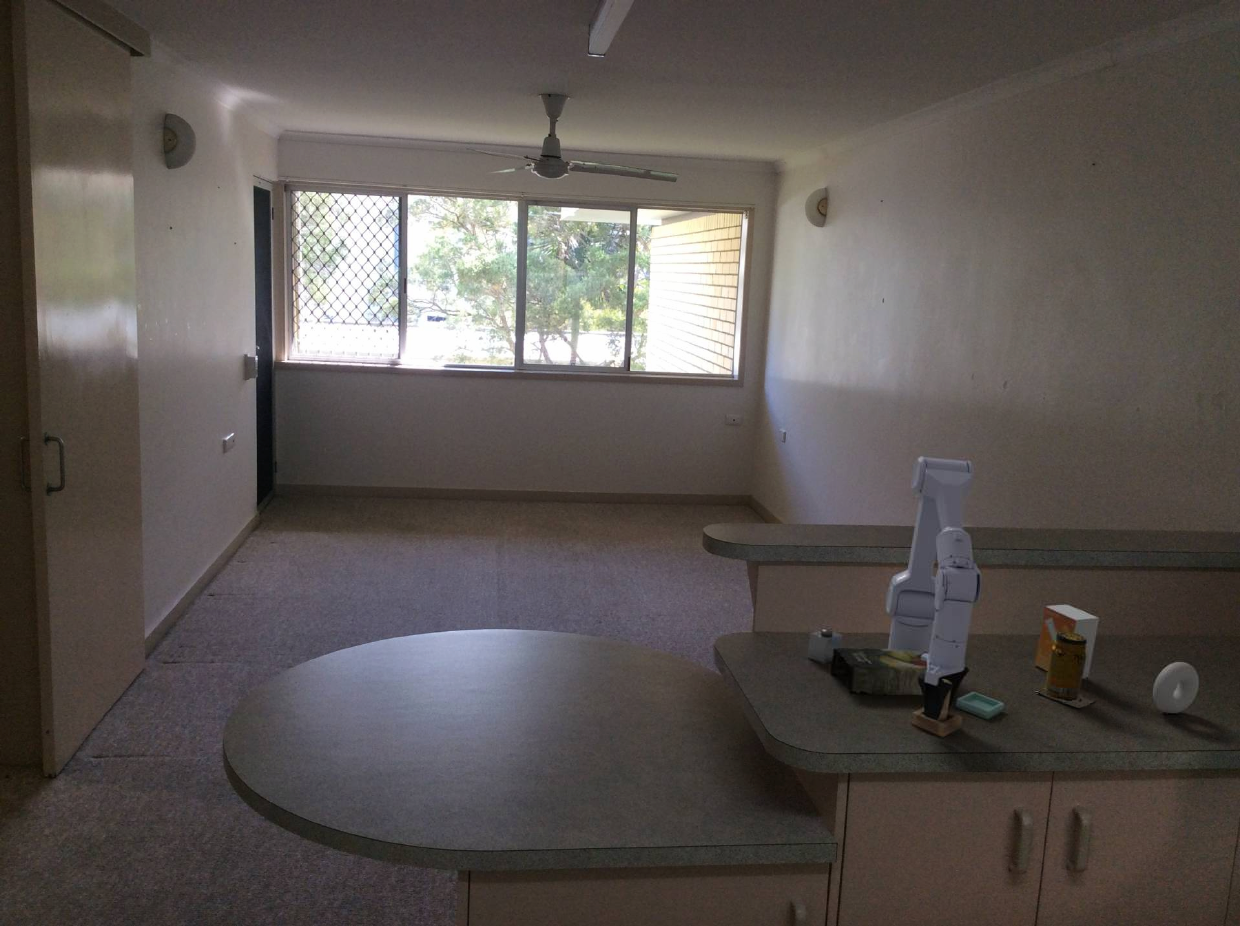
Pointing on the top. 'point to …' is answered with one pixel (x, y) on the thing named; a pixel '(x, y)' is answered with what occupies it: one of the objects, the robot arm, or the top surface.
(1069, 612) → the small box
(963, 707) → the tray
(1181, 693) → the grey round disc
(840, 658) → the juice carton
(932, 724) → the socket
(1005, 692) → the top surface
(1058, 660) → the condiment
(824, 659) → the stop block
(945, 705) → the dowel
